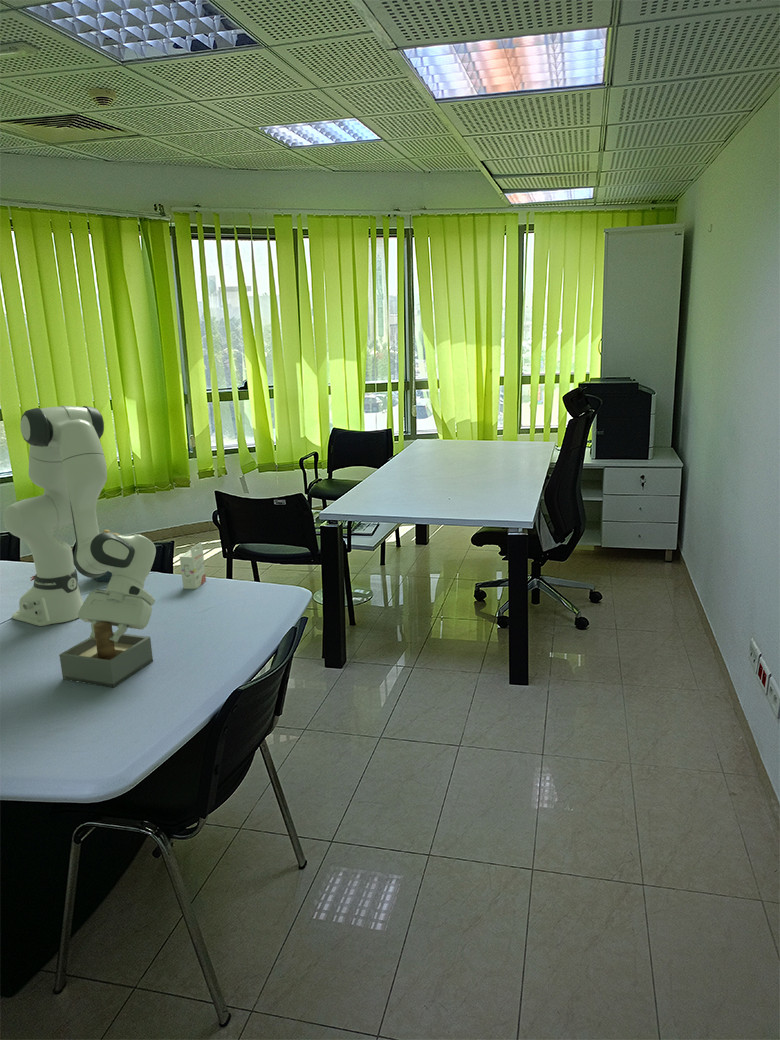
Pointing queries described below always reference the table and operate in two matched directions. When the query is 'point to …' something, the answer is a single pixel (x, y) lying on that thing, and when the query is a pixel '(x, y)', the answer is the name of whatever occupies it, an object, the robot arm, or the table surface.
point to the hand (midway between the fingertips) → (103, 640)
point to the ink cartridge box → (193, 568)
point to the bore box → (106, 661)
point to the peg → (104, 640)
